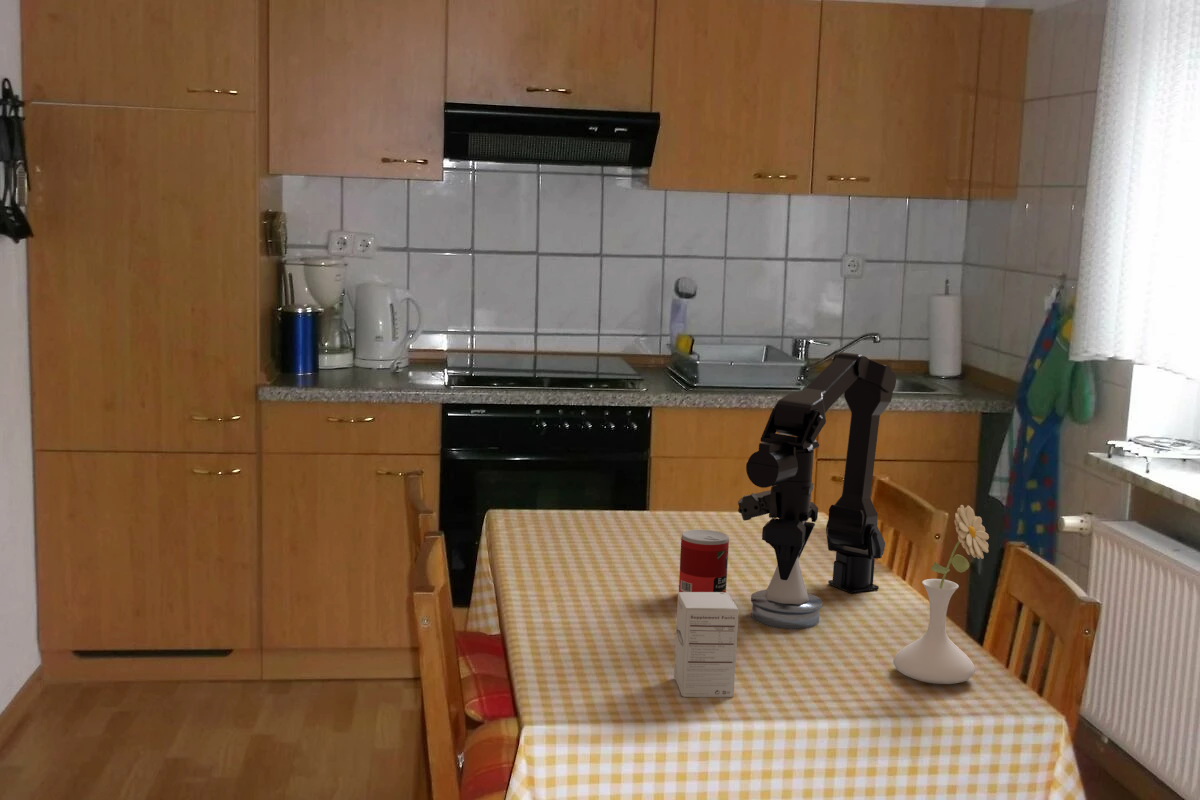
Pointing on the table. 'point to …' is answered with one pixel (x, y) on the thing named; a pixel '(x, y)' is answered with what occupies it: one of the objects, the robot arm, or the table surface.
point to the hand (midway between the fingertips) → (787, 573)
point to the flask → (788, 587)
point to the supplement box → (706, 644)
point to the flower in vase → (944, 614)
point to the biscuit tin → (785, 612)
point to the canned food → (703, 561)
